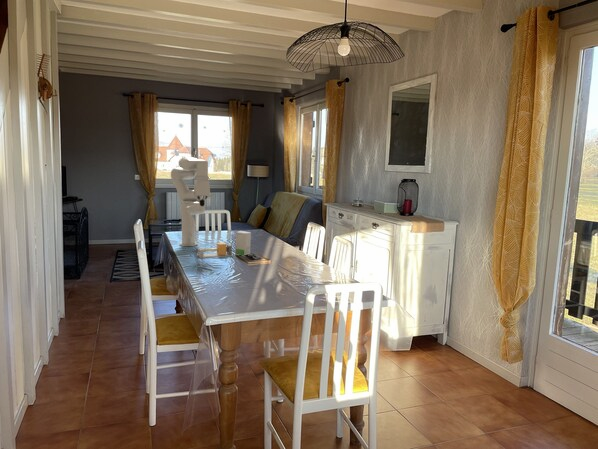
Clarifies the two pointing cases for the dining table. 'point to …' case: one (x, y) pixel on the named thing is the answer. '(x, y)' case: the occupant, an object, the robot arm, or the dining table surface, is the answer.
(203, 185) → the robot arm
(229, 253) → the rail
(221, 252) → the sleeve
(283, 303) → the dining table surface
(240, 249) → the skincare box
